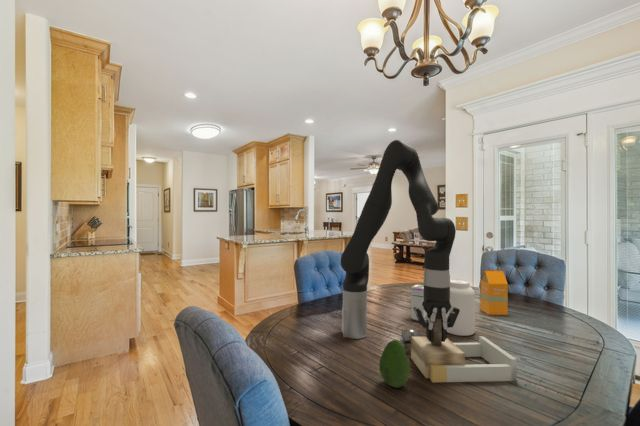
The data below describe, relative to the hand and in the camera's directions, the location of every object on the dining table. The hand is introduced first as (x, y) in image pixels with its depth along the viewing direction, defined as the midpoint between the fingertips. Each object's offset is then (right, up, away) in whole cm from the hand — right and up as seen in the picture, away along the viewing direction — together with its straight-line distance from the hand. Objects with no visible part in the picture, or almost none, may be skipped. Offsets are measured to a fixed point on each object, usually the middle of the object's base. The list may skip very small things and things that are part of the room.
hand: (436, 340), depth 92 cm
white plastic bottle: (+20, -9, +30) cm, 37 cm away
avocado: (-15, -8, -10) cm, 20 cm away
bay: (+7, -8, 0) cm, 11 cm away
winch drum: (-4, -8, +12) cm, 15 cm away
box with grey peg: (0, -8, 0) cm, 8 cm away
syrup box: (+9, -9, +44) cm, 45 cm away
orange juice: (+48, -9, +53) cm, 72 cm away
